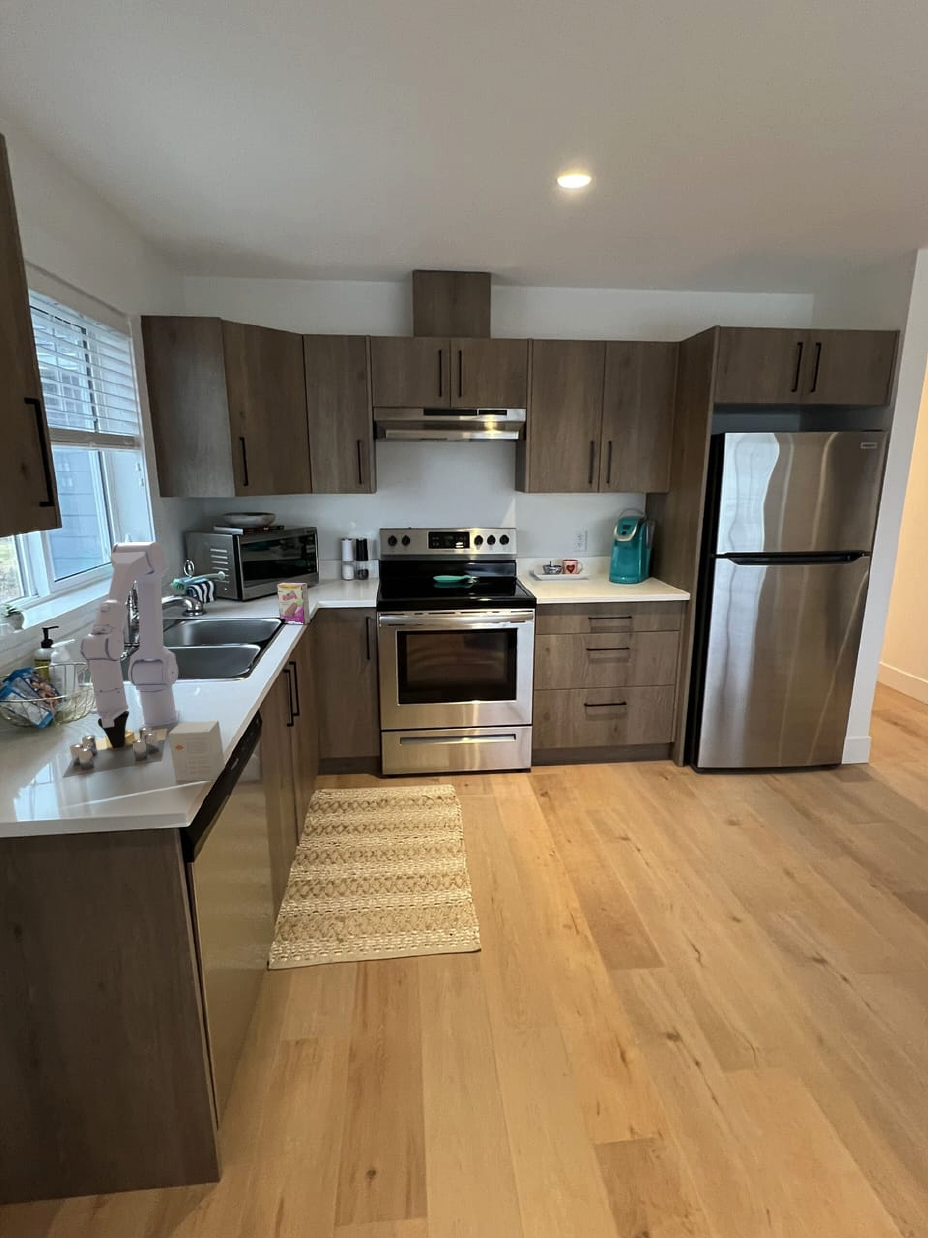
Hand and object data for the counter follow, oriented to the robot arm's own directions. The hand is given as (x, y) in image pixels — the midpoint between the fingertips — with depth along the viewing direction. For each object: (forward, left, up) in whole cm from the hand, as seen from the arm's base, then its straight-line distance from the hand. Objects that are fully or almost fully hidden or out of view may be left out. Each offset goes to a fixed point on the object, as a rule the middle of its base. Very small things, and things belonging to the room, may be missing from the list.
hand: (118, 746), depth 138 cm
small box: (+19, +17, -2) cm, 26 cm away
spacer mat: (0, 0, -1) cm, 1 cm away
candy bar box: (-110, +50, -2) cm, 121 cm away
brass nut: (-3, 0, -1) cm, 4 cm away
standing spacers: (+3, 0, -1) cm, 3 cm away
